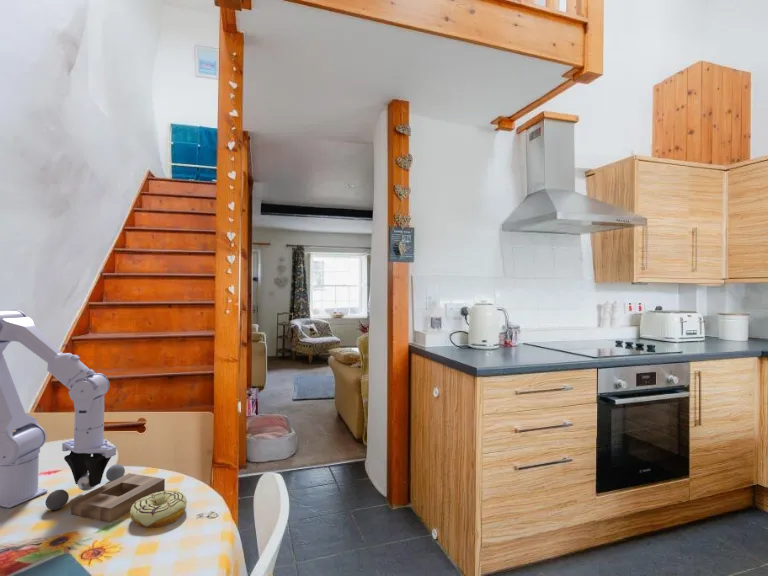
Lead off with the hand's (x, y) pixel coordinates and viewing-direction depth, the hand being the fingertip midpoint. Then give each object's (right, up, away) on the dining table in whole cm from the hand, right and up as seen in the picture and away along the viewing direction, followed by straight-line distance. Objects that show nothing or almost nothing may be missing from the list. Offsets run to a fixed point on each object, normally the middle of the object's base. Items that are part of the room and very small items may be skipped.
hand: (88, 483), depth 95 cm
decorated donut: (+22, -3, -10) cm, 24 cm away
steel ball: (0, +1, 0) cm, 1 cm away
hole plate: (+10, -2, -4) cm, 11 cm away
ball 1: (-2, 0, -7) cm, 7 cm away
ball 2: (+2, -1, +7) cm, 7 cm away
